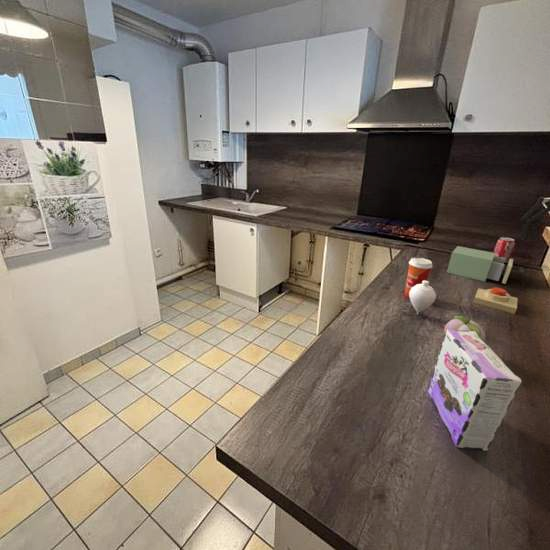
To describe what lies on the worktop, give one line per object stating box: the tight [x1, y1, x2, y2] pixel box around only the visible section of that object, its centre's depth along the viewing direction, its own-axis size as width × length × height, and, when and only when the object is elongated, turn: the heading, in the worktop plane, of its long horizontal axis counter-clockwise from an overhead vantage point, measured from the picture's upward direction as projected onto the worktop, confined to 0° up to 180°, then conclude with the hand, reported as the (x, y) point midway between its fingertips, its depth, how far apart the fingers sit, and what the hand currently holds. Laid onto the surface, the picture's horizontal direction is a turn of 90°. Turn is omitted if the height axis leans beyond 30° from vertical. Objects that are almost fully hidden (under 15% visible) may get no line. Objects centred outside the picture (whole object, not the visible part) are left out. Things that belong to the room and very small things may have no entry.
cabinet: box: [446, 245, 495, 283], centre depth 129 cm, size 15×13×10 cm
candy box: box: [427, 330, 522, 452], centre depth 55 cm, size 14×6×16 cm, turn 175°
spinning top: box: [409, 280, 437, 315], centre depth 93 cm, size 8×8×12 cm
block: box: [472, 287, 519, 315], centre depth 104 cm, size 12×10×4 cm
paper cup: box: [404, 257, 434, 299], centre depth 105 cm, size 8×8×14 cm
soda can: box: [492, 236, 516, 264], centre depth 144 cm, size 7×7×12 cm
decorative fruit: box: [443, 315, 486, 342], centre depth 77 cm, size 9×8×10 cm
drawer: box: [486, 256, 524, 285], centre depth 124 cm, size 18×11×8 cm, turn 51°
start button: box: [491, 286, 507, 296], centre depth 103 cm, size 4×4×2 cm
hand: (547, 243), depth 111 cm, fingers open, 13 cm apart
